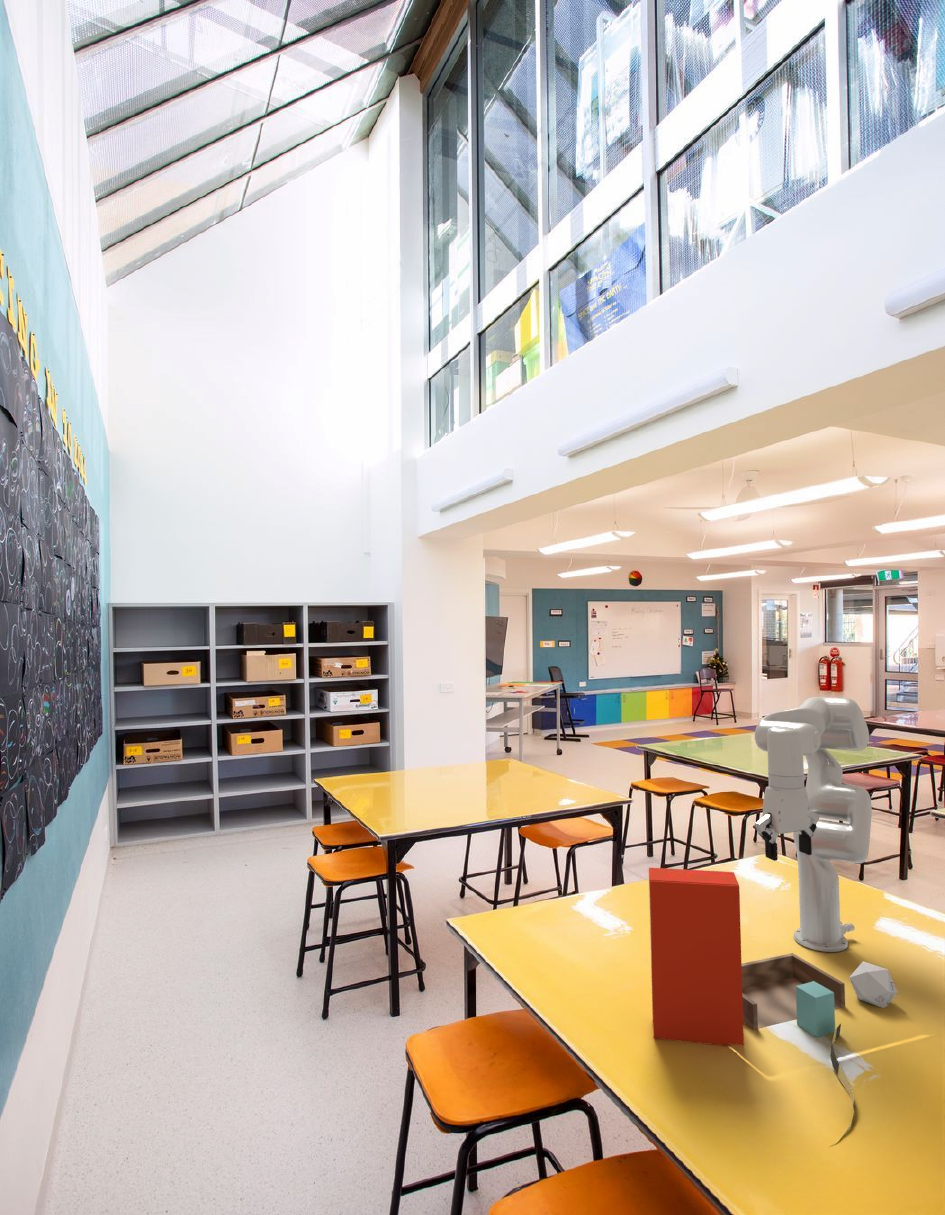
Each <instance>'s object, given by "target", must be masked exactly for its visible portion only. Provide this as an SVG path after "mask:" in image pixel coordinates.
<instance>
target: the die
mask: <svg viewBox="0 0 945 1215" xmlns="http://www.w3.org/2000/svg"><path fill="white" fill-rule="evenodd" d="M848 979H849V981H850V983H851V985H852V988H853V990H854V993H855V995H856V997H857V999H859V1001H862V1002H864V1003H868V1004H870V1005H872V1006H876V1007H878V1008H883V1009H885V1008H887V1007H888V1006H889V1004H890V1003H892V1001H893V999H894V998H895V997H896V996H897V995H898V993H899V991H898V988H897V987H896V985H895V983H894V980H893V978H892V976H891V973H890V971H889V969H887V968H885V967H881V966H878V965H876V964H873V963H869V962H866V961H864V960H863V961H862V962H861V963H860V964H859V965H858V966H857V968H856V969H855V970H854V971H853V972H852V974H850V976H849V977H848Z"/></svg>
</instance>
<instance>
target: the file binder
mask: <svg viewBox="0 0 945 1215" xmlns="http://www.w3.org/2000/svg"><path fill="white" fill-rule="evenodd" d="M648 887H649V888H648V891H649V893H648V894H649V925H650V926H649V928H650V931H649V932H650V934H649V935H650V936H649V937H650V966H651V967H650V968H651V969H650V970H651V972H650V973H651V1002H652V1006H651V1007H652V1029H653V1039H657V1040H658V1039H659V1040H668V1041H679V1042H686V1043H687V1042H688V1043H696V1044H707V1045H715V1046H716V1045H717V1046H725V1047H726V1046H727V1047H732V1045H739V1046H744V1045H745V1041H744V1039H745V1038H744V1037H745V1036H744V1021H743V999H742V964H743V962H742V942H741V941H742V938H741V936H742V934H741V932H742V930H741V905H740V904H741V900H740V898H741V897H740V896H741V894H740V884H739V882H738V879H737V876H736V874H735V872H734V871H724V870H723V871H721V870H719V871H718V870H704V869H701V870H699V869H681V868H664V867H648Z"/></svg>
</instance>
